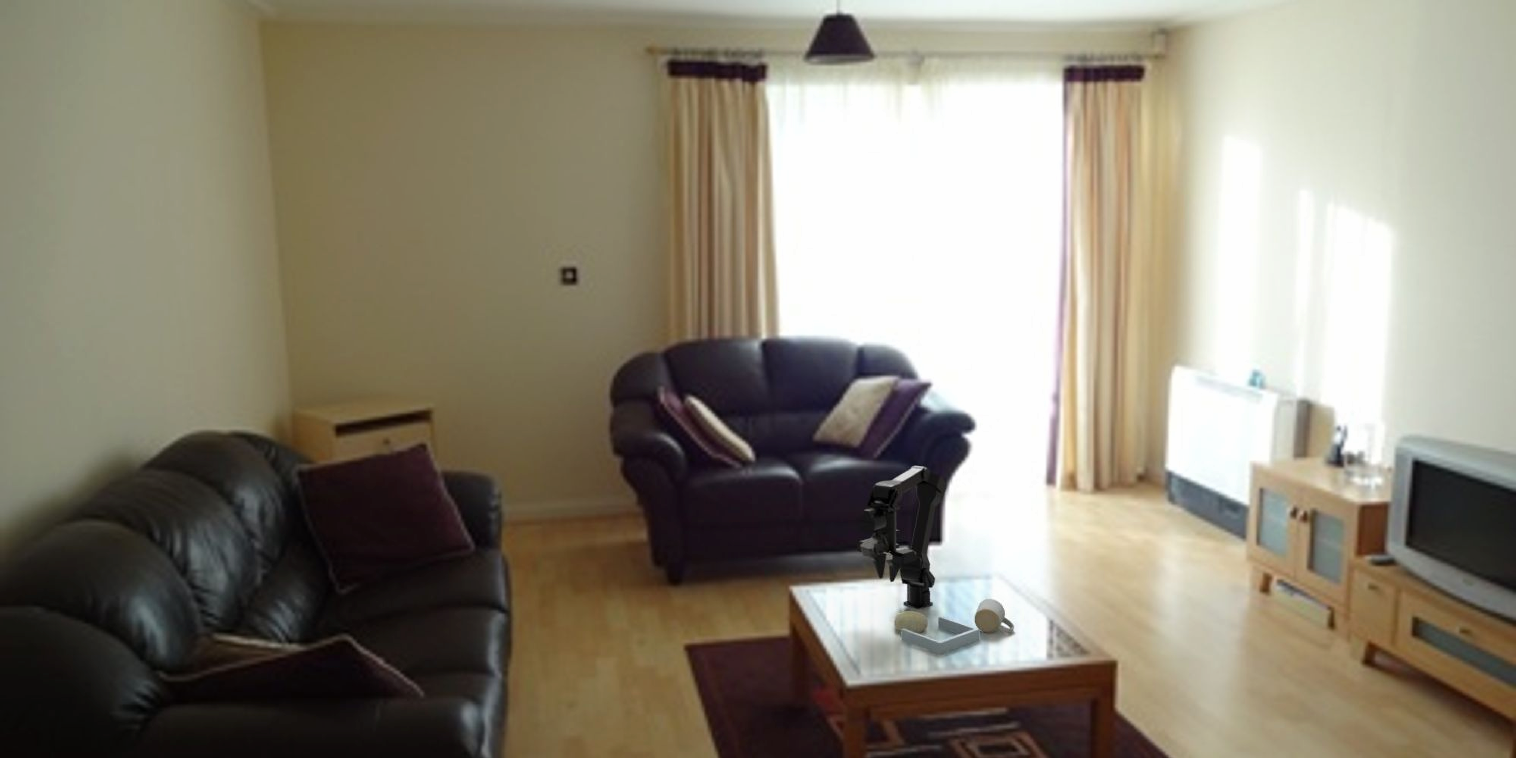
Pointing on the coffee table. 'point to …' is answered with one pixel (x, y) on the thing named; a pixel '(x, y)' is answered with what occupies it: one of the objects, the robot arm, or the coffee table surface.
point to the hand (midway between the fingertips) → (886, 580)
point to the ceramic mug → (992, 617)
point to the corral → (965, 637)
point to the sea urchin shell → (911, 621)
